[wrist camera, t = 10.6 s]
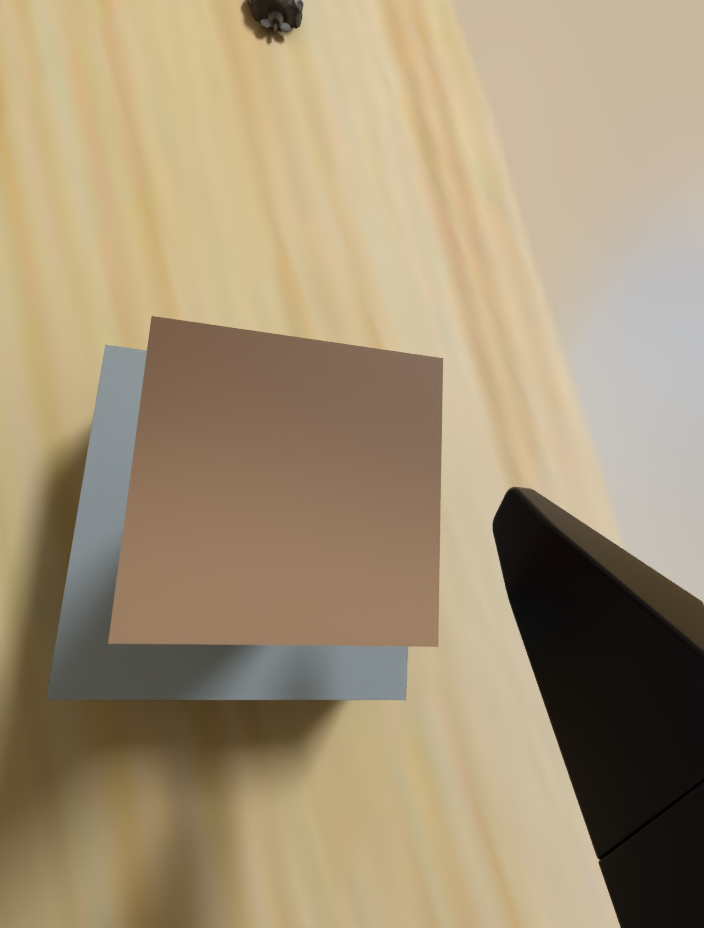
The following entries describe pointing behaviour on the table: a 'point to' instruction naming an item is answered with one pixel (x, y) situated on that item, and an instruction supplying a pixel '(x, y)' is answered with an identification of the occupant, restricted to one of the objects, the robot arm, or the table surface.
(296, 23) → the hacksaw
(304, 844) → the table surface
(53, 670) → the holder
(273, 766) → the table surface
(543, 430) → the table surface
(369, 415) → the tan rectangular block
